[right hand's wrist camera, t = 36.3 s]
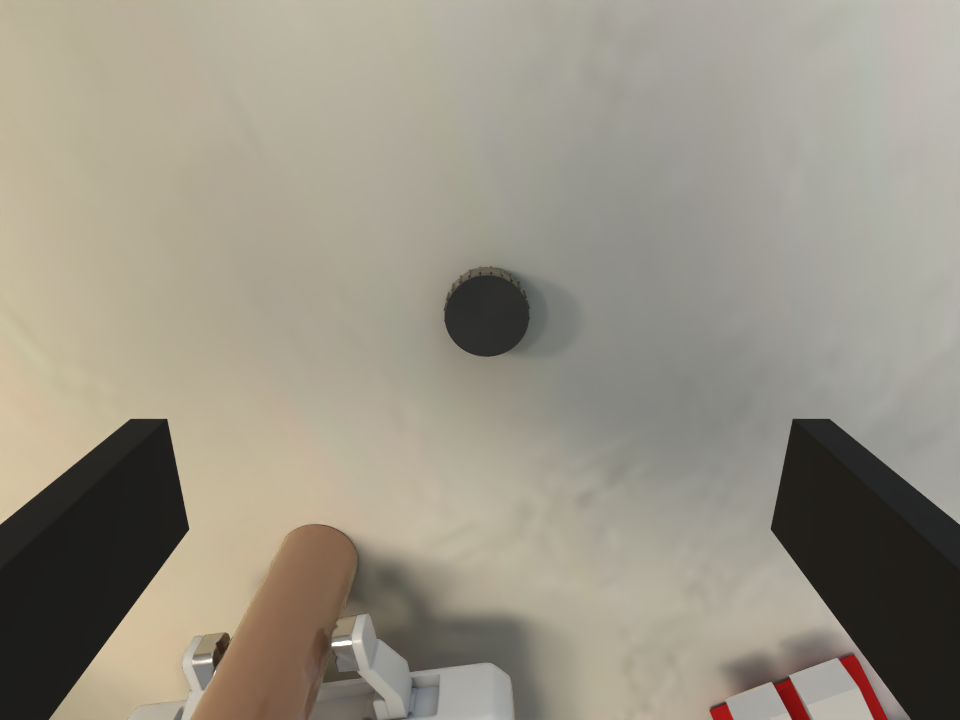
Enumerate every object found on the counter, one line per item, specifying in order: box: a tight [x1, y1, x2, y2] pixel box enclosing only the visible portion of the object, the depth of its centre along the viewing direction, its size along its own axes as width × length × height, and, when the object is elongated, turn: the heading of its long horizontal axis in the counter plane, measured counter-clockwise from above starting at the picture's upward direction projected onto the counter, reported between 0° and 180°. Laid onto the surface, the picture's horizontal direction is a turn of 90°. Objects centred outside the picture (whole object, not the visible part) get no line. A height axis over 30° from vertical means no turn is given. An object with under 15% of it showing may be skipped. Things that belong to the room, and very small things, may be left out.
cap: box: [444, 266, 529, 357], centre depth 28 cm, size 4×4×2 cm
